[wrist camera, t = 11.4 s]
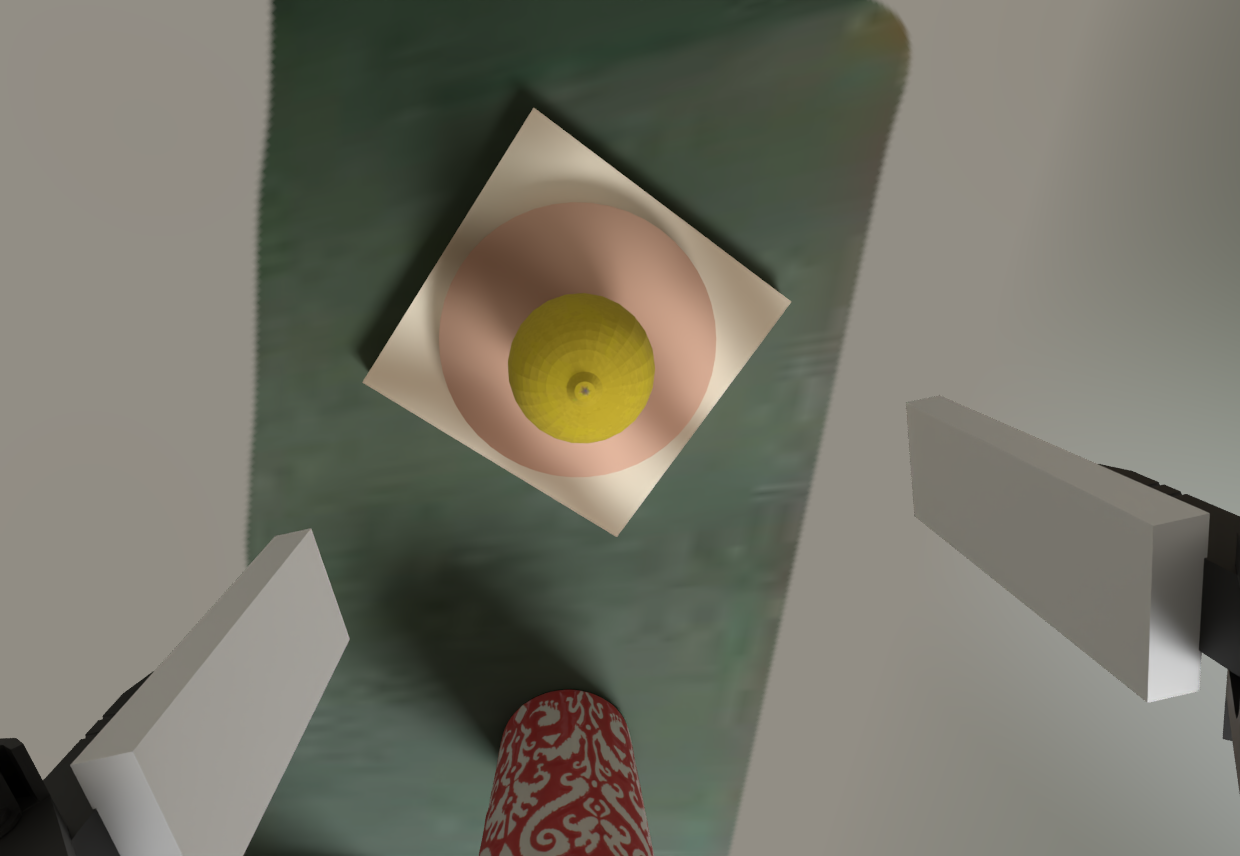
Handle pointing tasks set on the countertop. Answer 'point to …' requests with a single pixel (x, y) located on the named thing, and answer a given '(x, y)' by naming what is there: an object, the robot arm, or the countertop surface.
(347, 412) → the countertop surface
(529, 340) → the lemon
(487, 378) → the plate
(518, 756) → the mug
